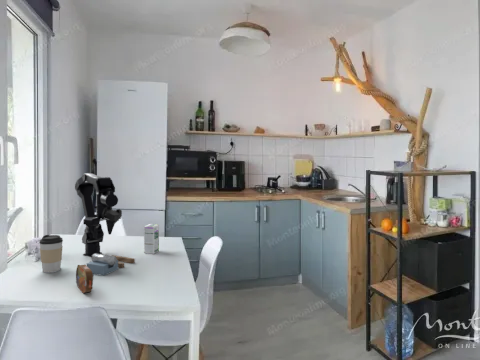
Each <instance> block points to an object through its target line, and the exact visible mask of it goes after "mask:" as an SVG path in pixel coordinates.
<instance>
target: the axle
mask: <svg viewBox="0 0 480 360" xmlns="http://www.w3.org/2000/svg"><path fill="white" fill-rule="evenodd" d="M115 256H116V255H115ZM115 256H111V255H109V254H104V253H103V254H98V253H95V254H93V256H91V262H98V263H104V264H108V265H112V266H113V265H115V264H116V261H117V258H116V257H115Z"/></svg>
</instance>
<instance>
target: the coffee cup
mask: <svg viewBox="0 0 480 360" xmlns="http://www.w3.org/2000/svg"><path fill="white" fill-rule="evenodd" d="M63 242H64V239H63V237H61V236H60V235H57V234H51V235H50V234H44V235H43V236H42V238H41V239H39V243H38V244H39V252H40V261H41V269H42V272H43V273H55V272H59V271H60V270H61V267H62V264H61V263H62V255H63Z"/></svg>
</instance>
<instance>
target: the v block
mask: <svg viewBox="0 0 480 360" xmlns="http://www.w3.org/2000/svg"><path fill="white" fill-rule="evenodd" d="M118 262H119V261H118V260H117V261H116V264H115V265H113V266H112V265H108V264H104V263H98V262H92V261H89V262H87V263H86V266H87V267H88V268H90V269H91V271H92V273H93V275H98V276H106V275H108V274H110V273H112V272H115V271H117V270H119V268H118Z"/></svg>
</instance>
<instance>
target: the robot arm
mask: <svg viewBox="0 0 480 360" xmlns="http://www.w3.org/2000/svg"><path fill="white" fill-rule="evenodd" d="M74 189H75V191H76V194H77V196H78V197H79V198H80V199H81V202H82V207H83V212H84V213H83V214H84V219H83V225H85V228H84V230H83V231H84V233H83V235H82V237H81V243H82V244H83V245H84V247H85V248H84V251H85V252H84V253H82V256H87V257H92V256H93V254H95V253H98V254H102V252H101V245H100V243H103V242H104V234H105V232H104V231H103V229H102V224H101V222H104V221H105V223H106V229H107V233H108V235H112V232H113V229H114V227H115V224H116V223H117V222H119V221H120V220H122V216H123V215H122V214H123V213H122V212H123V211H122V209H120V208H118V209H113V207H116V206H117V204H118V202H119V198H118V195H116V194H115V192H116V186H115V184H114V182H113V180H112V178H111V177H108V176H107V177H106V176H105V177H103V176H102V177H101V176H99V175H96V174H95V173H92V172H91V173H90V172H87V173H83V174H82V176H81V177H79V178H78V179H76V182H75V184H74ZM94 189H95V190H94ZM94 191H95V194H96V202H95V204H96V205H95V206H94V203H93V197H92V195H93V193H94ZM95 209H96V213H95Z"/></svg>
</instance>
